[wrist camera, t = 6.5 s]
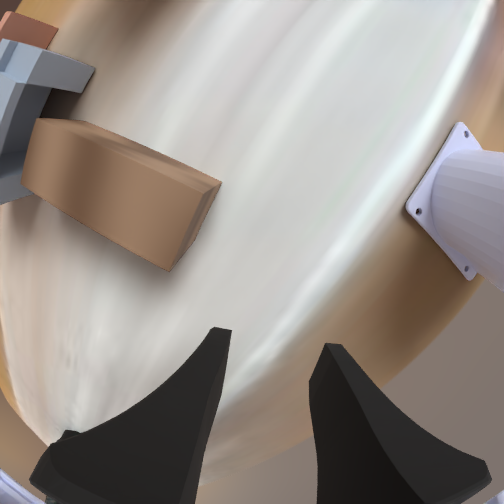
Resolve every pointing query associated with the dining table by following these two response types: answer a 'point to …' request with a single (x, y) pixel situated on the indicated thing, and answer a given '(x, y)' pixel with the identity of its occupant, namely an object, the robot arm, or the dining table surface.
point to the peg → (118, 188)
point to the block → (28, 103)
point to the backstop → (26, 30)
